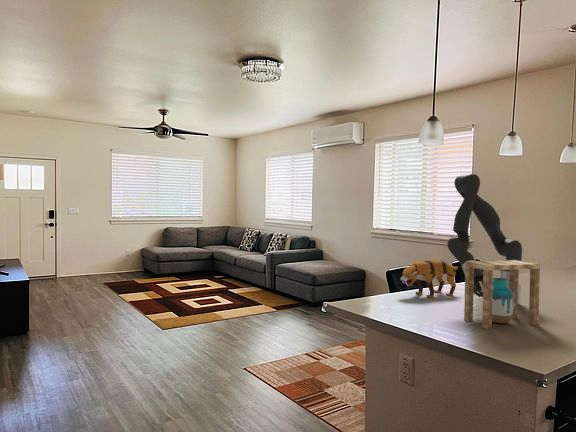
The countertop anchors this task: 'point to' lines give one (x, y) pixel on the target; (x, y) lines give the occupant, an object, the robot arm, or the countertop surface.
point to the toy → (430, 275)
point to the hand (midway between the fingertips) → (491, 303)
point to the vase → (501, 301)
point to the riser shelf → (513, 285)
